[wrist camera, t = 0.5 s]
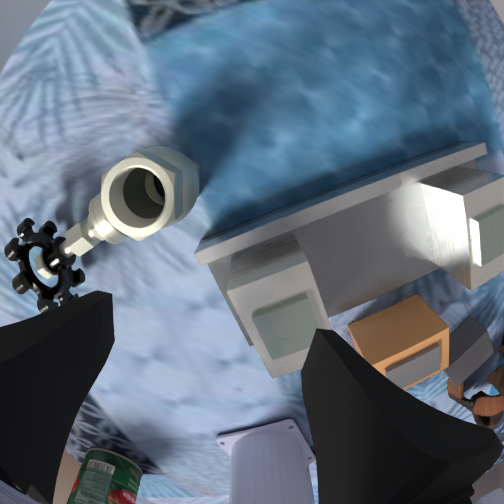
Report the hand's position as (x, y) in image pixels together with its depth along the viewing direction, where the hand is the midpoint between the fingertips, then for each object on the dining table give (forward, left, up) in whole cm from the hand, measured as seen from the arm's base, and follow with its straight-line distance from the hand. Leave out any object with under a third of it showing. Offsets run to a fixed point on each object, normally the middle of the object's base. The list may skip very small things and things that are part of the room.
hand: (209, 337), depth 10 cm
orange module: (-11, -9, -10) cm, 17 cm away
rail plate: (-3, -9, -10) cm, 13 cm away
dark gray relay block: (-17, -16, -10) cm, 25 cm away
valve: (+5, +5, -10) cm, 12 cm away
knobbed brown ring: (-24, -19, -10) cm, 32 cm away
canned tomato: (-21, +26, -10) cm, 35 cm away
